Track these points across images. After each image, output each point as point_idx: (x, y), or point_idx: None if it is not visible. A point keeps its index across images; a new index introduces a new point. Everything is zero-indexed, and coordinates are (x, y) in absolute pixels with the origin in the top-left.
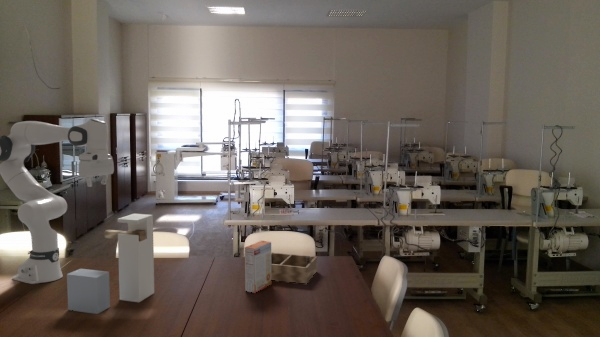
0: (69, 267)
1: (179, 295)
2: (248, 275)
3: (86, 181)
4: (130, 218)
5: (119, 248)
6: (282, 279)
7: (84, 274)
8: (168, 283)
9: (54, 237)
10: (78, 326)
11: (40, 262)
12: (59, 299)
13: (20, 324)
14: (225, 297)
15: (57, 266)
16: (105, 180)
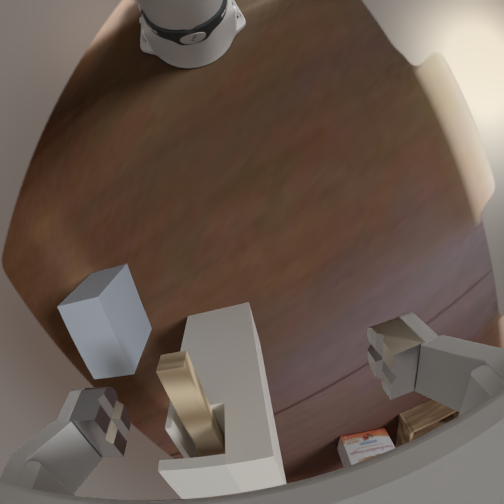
0: (287, 10)
1: (274, 385)
2: (345, 460)
3: (39, 432)
4: (195, 490)
5: None
6: (397, 440)
7: (84, 343)
8: (323, 323)
9: (186, 8)
10: (74, 346)
11: (152, 32)
12: (111, 201)
13: (18, 259)
14: (304, 434)
15: (202, 47)
16: (417, 390)
